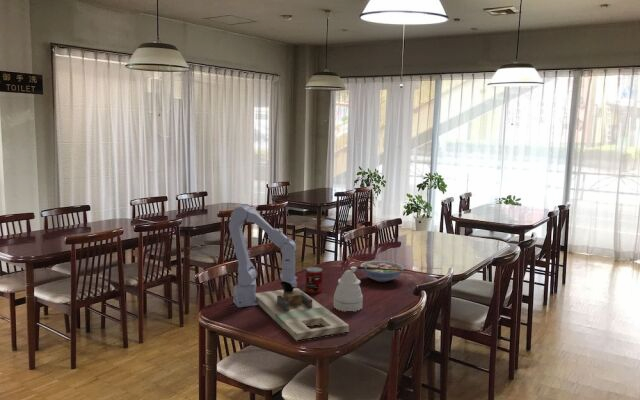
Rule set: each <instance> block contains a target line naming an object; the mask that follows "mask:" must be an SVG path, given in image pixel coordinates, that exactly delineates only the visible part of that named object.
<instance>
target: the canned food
mask: <svg viewBox="0 0 640 400" xmlns="http://www.w3.org/2000/svg"><path fill="white" fill-rule="evenodd" d="M305 270H306V271H305V275H306V276H305V291H306V293H308V294H319V293H321V292H322V291H323V268H322V267H318V266H317V267H316V266H312V267H311V266H309V267H307V268H306V269H305Z"/></svg>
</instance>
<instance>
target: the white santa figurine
mask: <svg viewBox="0 0 640 400" xmlns="http://www.w3.org/2000/svg"><path fill="white" fill-rule="evenodd" d="M357 269H358V266H351V267H350V269H346V270H345V271H344V273H343V274H342V275H341V277H340V278H339V279H337V283H338V284H337V286H336V288H335V292H334V293H333V308H334V309H335V308H336V309H335V310H337V309H338V310H337V311H340V310H341V311H340V312H346V311H353V312H358V311H361V310H362V309H363V302H364V301H363V297H364V295H363V293H362V289H361V286H360V284H361V280H360V279H358V278H357V276H356V274H355V273H354V272H356V271H357ZM360 309H361V310H360ZM357 310H358V311H357Z"/></svg>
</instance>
